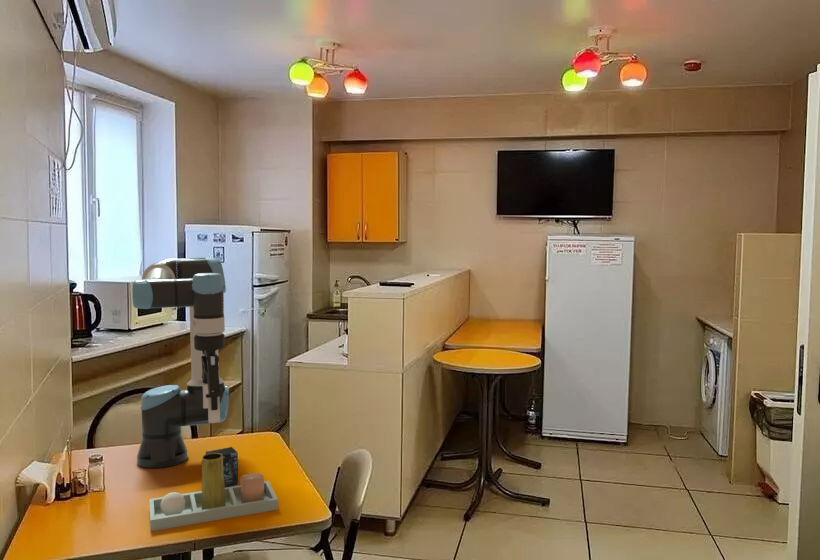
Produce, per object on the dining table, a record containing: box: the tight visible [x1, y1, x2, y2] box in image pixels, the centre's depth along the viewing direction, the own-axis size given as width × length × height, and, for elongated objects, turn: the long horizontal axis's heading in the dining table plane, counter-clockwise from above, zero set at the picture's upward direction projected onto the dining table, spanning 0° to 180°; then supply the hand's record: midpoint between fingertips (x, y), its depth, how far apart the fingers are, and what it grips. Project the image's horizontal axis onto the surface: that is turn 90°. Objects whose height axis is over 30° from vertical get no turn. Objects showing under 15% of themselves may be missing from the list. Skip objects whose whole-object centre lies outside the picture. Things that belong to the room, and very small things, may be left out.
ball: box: [160, 491, 185, 516], centre depth 164 cm, size 6×6×6 cm
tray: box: [149, 480, 279, 532], centre depth 169 cm, size 13×31×4 cm, turn 113°
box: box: [205, 446, 239, 488], centre depth 185 cm, size 8×6×11 cm
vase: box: [201, 453, 226, 510], centre depth 168 cm, size 6×6×14 cm
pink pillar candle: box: [240, 472, 265, 503], centre depth 172 cm, size 6×6×7 cm
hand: (211, 414), depth 167 cm, fingers open, 13 cm apart
